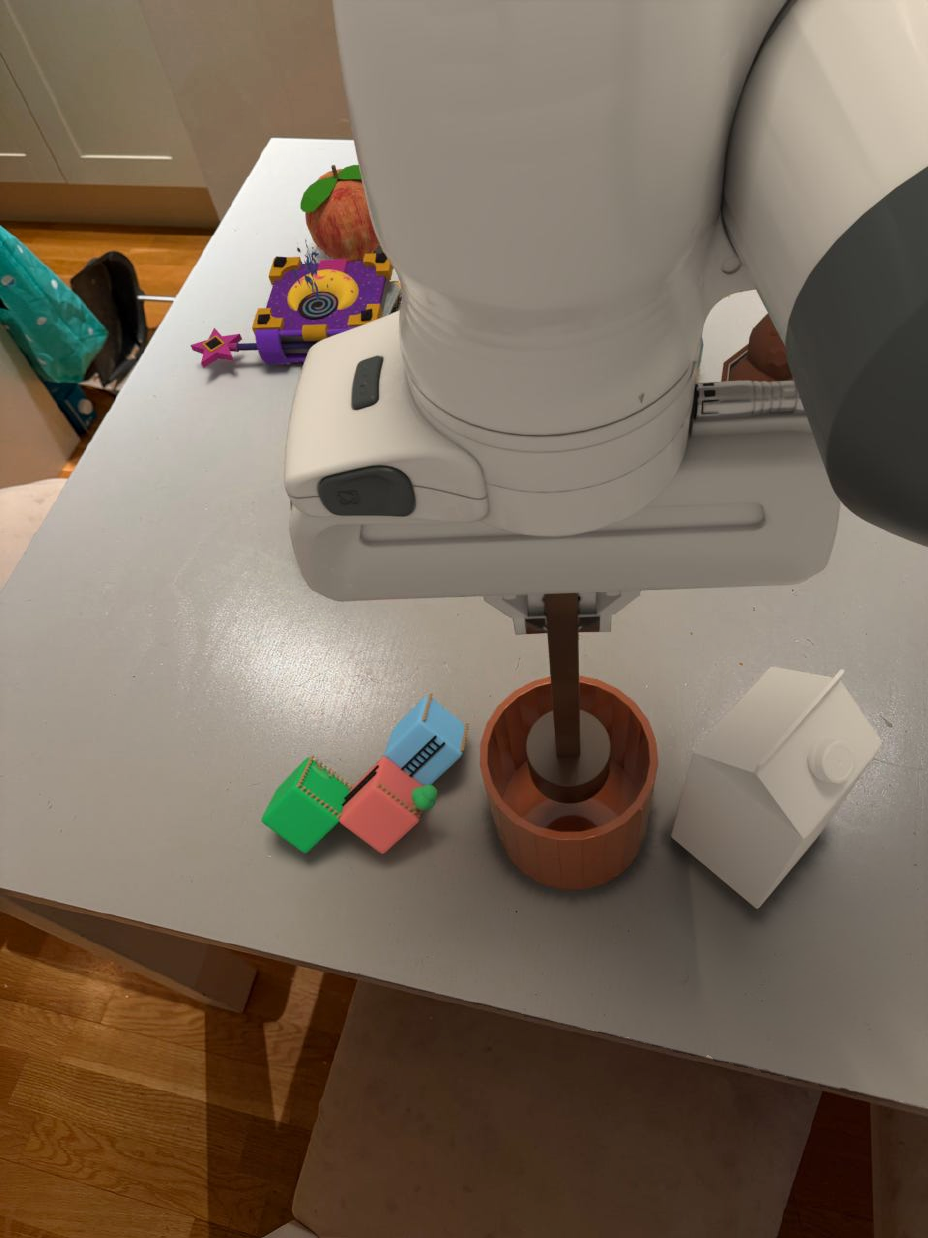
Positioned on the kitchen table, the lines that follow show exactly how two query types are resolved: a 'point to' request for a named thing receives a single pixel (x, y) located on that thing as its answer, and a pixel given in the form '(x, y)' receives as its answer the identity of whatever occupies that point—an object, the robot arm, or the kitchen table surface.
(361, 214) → the fruit
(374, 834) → the building blocks
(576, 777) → the ladle
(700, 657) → the kitchen table surface
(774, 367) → the ice cream bowl
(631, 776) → the crock
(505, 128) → the robot arm
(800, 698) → the milk carton
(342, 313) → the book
